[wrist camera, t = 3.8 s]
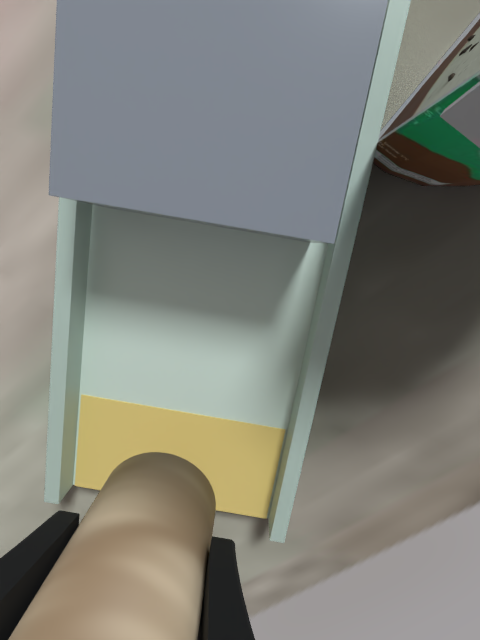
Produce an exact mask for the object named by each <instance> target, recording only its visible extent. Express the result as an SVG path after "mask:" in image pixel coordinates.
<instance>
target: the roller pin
mask: <svg viewBox="0 0 480 640" xmlns="http://www.w3.org/2000/svg"><path fill="white" fill-rule="evenodd" d="M215 510H216V500H215V495H214V491H213V488H212V486H211V484H210V482H209V480H208V479H207V478H206V476H205V475H204V474H203V473H202V471H201V470H200V469H198V468H197V467H196V466H195V465H194V464H192V463H191V462H189V461H187V460H185V459H183V458H181V457H179V456H176V455H173V454H169V453H162V452H149V453H142V454H138V455H135V456H133V457H130V458H128V459H127V460H125V461H123V462H122V463H121V464H119V465H118V466H117V467H116V468H115V469H114V470H113V472H112V473H111V474H110V476H109V477H108V479H107V481H106V482H105V484H104V485H103V487H102V489H101V490H100V492H99V493H98V495H97V497H96V498H95V500H94V502H93V503H92V505H91V506H90V508H89V510H88V511H87V513H86V515H85V516H84V518H83V519H82V521H81V523H80V524H79V526H78V527H77V529H76V531H75V532H74V534H73V536H72V537H71V539H70V540H69V542H68V544H67V545H66V547H65V549H64V550H63V552H62V553H61V555H60V557H59V558H58V560H57V561H56V563H55V565H54V566H53V568H52V570H51V571H50V573H49V574H48V576H47V578H46V579H45V581H44V582H43V584H42V586H41V587H40V589H39V591H38V592H37V594H36V595H35V597H34V599H33V600H32V602H31V604H30V605H29V607H28V608H27V610H26V612H25V613H24V615H23V616H22V618H21V620H20V621H19V623H18V625H17V626H16V628H15V629H14V631H13V633H12V634H11V636H10V637H9V639H8V640H198V632H199V625H200V618H201V611H202V604H203V595H204V586H205V578H206V571H207V564H208V557H209V551H210V545H211V539H212V532H213V525H214V518H215Z"/></svg>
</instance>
